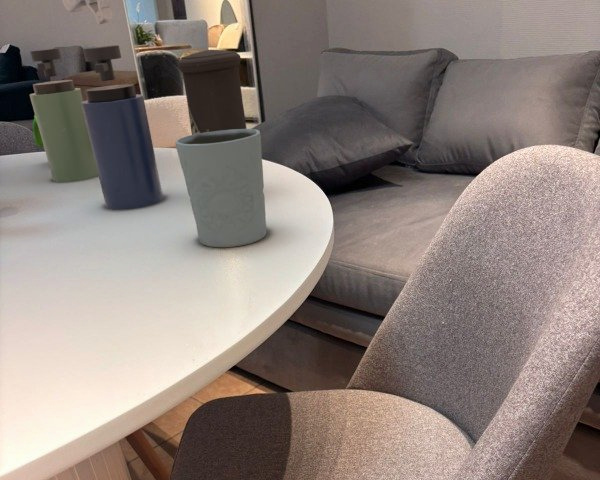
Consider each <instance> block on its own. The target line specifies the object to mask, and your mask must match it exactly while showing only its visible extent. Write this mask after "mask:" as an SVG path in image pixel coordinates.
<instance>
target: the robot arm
mask: <svg viewBox="0 0 600 480" xmlns="http://www.w3.org/2000/svg"><path fill="white" fill-rule="evenodd" d="M61 2H62V4H63V7H64V8H65V10H66V11H67V12H68V13H76V12H81V11H84V10H86V9H87V8H88V9H89V10H90V12H91V13H92V15H94V17H95V20H96V22H97V24H98V25H99V26H104V25H107V24H108V23H109V22H110V21H111V20H112V19H113V17H114V15H113V11H112V10H111V3H110V0H61Z"/></svg>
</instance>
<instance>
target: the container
mask: <svg viewBox="0 0 600 480" xmlns="http://www.w3.org/2000/svg"><path fill="white" fill-rule="evenodd" d="M241 58H242V57H241V55H240V54H239V53H238V52H236V51H235V50H219V49H218V50H215V49H206V50H203V51H199V52H195V53H191V54H187V55H184V56H181V58H180V59H179V60H178V61H177V62H178V63H177V66H178V69H179V70H180V72H181V73H182V76H183V77H182V78H183V83H184V91H185V96H186V104H187V110H188V119H189V125H190V133H191V135H194V134H200V133H205V132H213V131H221V130H232V129H247V122H246V115H245V109H244V102H243V94H242V93H243V92H242V85H241V84H242V83H241V77H240V69H239V67H240V64H241V61H242V59H241Z"/></svg>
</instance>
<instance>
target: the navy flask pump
mask: <svg viewBox="0 0 600 480" xmlns="http://www.w3.org/2000/svg"><path fill="white" fill-rule="evenodd" d="M120 49H121V48H120V45H119V44H116V45H106V46H105V45H104V46H95V47H86V48H82V51H83V55H84V60H85V62H86V63H90V62H92V63H93V62H96V63H95V64H93V68H94V71H95V73H96V74H99V77H100V81H101V82H107V81H114V80H115V79H116V78H115V77H116V76H115V72H114V67H113V62H112V60H117V59H118V60H119V59H121V58H122V55H121V50H120Z"/></svg>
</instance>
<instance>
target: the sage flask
mask: <svg viewBox="0 0 600 480" xmlns="http://www.w3.org/2000/svg"><path fill="white" fill-rule="evenodd" d="M32 87H33V91H34V93H30V94H29V98H30V102H31V105H32V110H33V112H34V115H35V116H36V120H37V123H38V127H39V131H40V134H41V138H42V141H43V145H44V147H43V148H44V152H45V156H46V159H47V163H48V166H49V170H50V173H51V178H52V180H53V182H56V183H71V182H79V181H85V180H89V179H93V178H96V177H99V175H98V171H97V167H96V163H95V159H94V155H93V151H92V147H91V142H90V138H89V134H88V130H87V126H86V122H85V118H84V114H83V109H82V105H81V102H83V101H84V96H83V93H82V89H81V88H80V87H76V86H75V84H74V80H73V79H62V80H53V81H52V80H51V81H44V82H37V83H33V84H32Z"/></svg>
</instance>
